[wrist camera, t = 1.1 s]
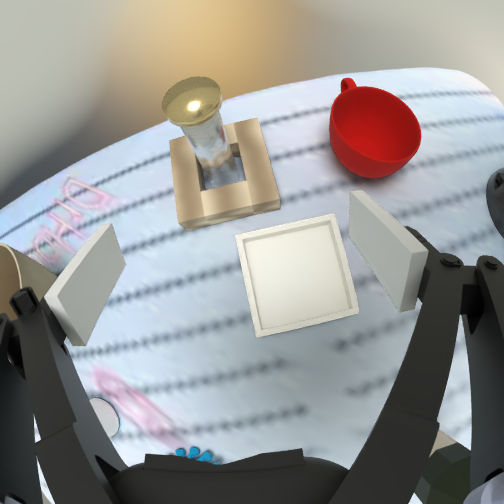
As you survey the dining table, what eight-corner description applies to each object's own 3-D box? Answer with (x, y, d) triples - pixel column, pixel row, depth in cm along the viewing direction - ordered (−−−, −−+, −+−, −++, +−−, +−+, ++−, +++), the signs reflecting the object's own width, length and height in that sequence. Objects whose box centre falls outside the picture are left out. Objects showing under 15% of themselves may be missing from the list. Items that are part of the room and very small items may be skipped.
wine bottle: (390, 468, 32) (475, 584, 3) (375, 432, 34) (477, 555, 5) (434, 441, 32) (547, 524, 3) (422, 404, 34) (558, 480, 5)
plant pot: (42, 257, 45) (-19, 237, 30) (98, 270, 43) (30, 250, 28) (31, 333, 42) (-31, 331, 27) (85, 358, 41) (17, 367, 25)
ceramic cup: (369, 103, 45) (382, 66, 35) (410, 184, 41) (437, 154, 32) (303, 113, 46) (306, 73, 36) (339, 201, 42) (354, 171, 32)
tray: (330, 220, 41) (334, 213, 38) (354, 313, 38) (359, 312, 35) (238, 240, 42) (235, 235, 39) (258, 335, 39) (256, 337, 36)
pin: (240, 157, 45) (216, 70, 26) (247, 190, 44) (224, 110, 25) (203, 166, 45) (161, 86, 26) (208, 200, 44) (163, 127, 25)
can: (121, 405, 39) (78, 427, 27) (120, 440, 37) (80, 467, 26) (87, 391, 39) (41, 405, 28) (87, 425, 38) (44, 445, 26)
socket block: (259, 132, 45) (257, 117, 42) (280, 209, 42) (279, 199, 39) (177, 152, 46) (169, 140, 42) (187, 230, 43) (178, 223, 39)
